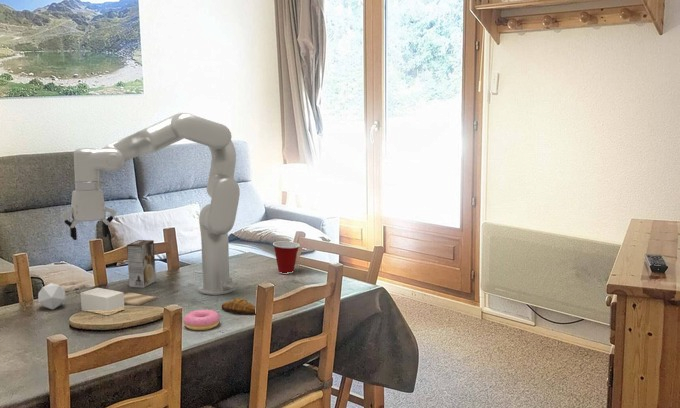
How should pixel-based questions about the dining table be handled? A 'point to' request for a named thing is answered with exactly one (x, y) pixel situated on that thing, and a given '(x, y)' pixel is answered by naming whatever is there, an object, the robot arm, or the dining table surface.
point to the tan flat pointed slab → (137, 298)
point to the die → (51, 296)
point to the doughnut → (201, 319)
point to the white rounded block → (101, 299)
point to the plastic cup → (286, 255)
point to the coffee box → (141, 263)
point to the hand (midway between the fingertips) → (89, 237)
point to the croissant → (239, 306)
